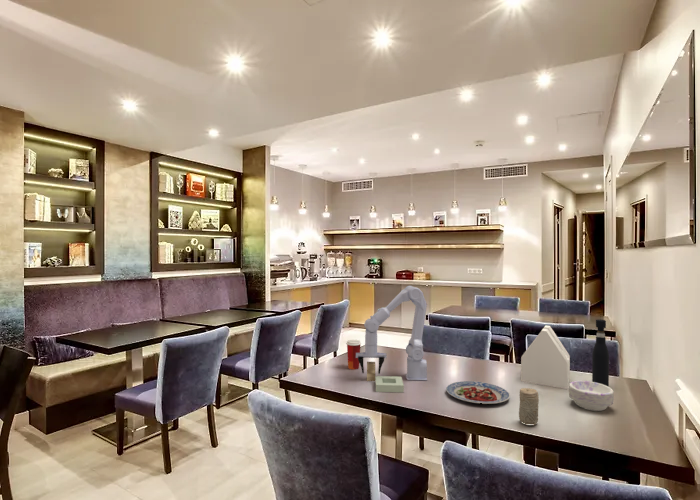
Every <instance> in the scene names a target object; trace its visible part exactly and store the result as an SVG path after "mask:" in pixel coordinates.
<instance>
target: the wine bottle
mask: <svg viewBox="0 0 700 500" xmlns="http://www.w3.org/2000/svg"><path fill="white" fill-rule="evenodd" d="M606 324H607V321H606V320H605V319H595V328H597V332H596V336H595V344H594V346H593V349H592V354H591V355H592V357H591V359H592V360H591V362H592V363H591V364H592V365H591V366H592V367H591V368H592V372H591V373H592V375H591V376H592V378H591V382H596V383H600V384H603V385H606V386H608V387H610V386H609V385H610V376H609V375H610V372H609V371H610V353H609V349H608V346H607V344H606V342H607V340H606V334H605V329H606V328H607V327H606V326H607V325H606Z"/></svg>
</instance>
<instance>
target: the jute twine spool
mask: <svg viewBox="0 0 700 500" xmlns="http://www.w3.org/2000/svg"><path fill="white" fill-rule="evenodd" d="M539 401H540V399H539V392H538V391H537V390H536V389H535V388H528V387H522V388H520V389H519V404H518V405H519V409H518V410H519V411H518V420H519V422H520V421H521V422H523V423H525V424H535V425H537V424H538V422H539V403H540V402H539ZM521 422H520V423H521Z"/></svg>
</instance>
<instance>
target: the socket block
mask: <svg viewBox="0 0 700 500" xmlns="http://www.w3.org/2000/svg"><path fill="white" fill-rule="evenodd" d="M374 382H375V392H376V393H404V390H405V389H404V388H405V386H404V380H403V377H402V376H396V375H395V376H392V375H391V376H387V375H386V376H385V375H375V381H374Z"/></svg>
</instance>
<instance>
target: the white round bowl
mask: <svg viewBox="0 0 700 500" xmlns="http://www.w3.org/2000/svg"><path fill="white" fill-rule="evenodd" d="M614 393H615V392H614V390H613V389H612V387H610V386H609V387H608V386H606V385H603V384H600V383H596V382H592V381H590V380H589V381H588V380H575V381H569V384H568V396H569V398H570V399H571V400H573V401H574V402H575V404H576V405H577V406H578V407H580V408H582V409H584V410H588V411H595V412H601V411H605V410H606V409H607V408H608V407H609V406H613V405H614V403H615V401H614V400H615V399H614V398H615V397H614Z"/></svg>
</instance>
